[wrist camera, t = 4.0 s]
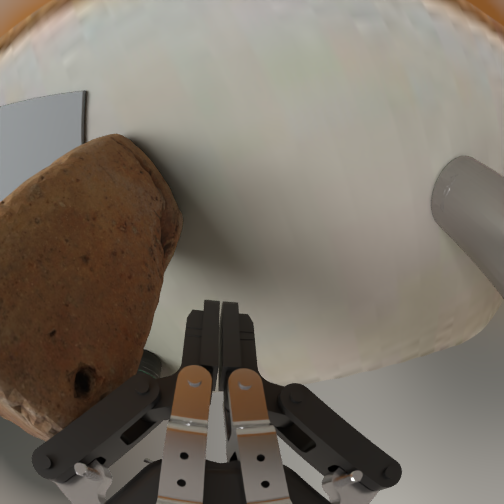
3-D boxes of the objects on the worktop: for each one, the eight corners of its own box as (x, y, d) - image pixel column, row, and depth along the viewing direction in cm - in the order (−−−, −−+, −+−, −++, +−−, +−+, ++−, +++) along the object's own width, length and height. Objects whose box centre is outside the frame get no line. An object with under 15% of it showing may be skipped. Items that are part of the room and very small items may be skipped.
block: (73, 173, 20) (-80, 341, 4) (124, 117, 18) (-106, 286, 1) (146, 253, 25) (73, 459, 9) (203, 214, 23) (149, 476, 7)
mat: (85, 90, 16) (82, 90, 15) (97, 264, 26) (95, 267, 26) (-43, 121, 13) (-46, 122, 12) (-20, 245, 23) (-22, 247, 22)
